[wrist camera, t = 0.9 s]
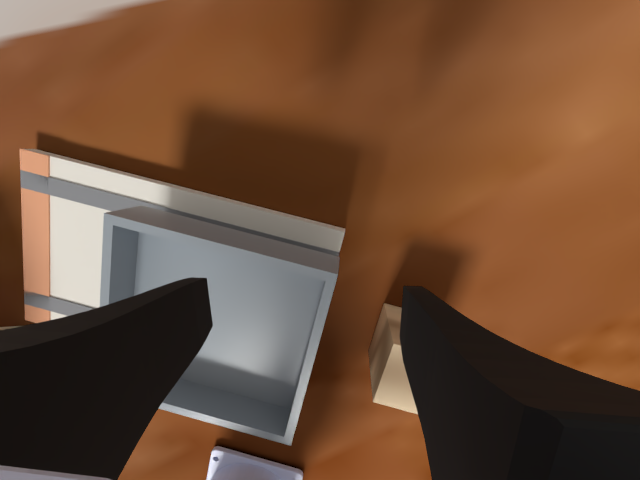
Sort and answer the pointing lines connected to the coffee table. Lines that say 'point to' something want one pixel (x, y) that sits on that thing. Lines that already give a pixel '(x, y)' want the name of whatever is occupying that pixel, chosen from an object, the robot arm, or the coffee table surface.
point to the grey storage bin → (229, 313)
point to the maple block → (389, 363)
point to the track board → (87, 226)
